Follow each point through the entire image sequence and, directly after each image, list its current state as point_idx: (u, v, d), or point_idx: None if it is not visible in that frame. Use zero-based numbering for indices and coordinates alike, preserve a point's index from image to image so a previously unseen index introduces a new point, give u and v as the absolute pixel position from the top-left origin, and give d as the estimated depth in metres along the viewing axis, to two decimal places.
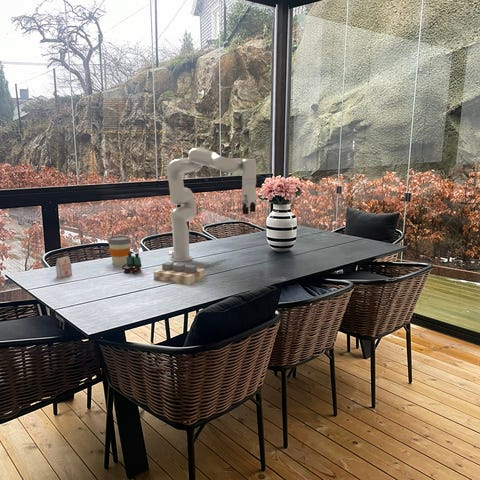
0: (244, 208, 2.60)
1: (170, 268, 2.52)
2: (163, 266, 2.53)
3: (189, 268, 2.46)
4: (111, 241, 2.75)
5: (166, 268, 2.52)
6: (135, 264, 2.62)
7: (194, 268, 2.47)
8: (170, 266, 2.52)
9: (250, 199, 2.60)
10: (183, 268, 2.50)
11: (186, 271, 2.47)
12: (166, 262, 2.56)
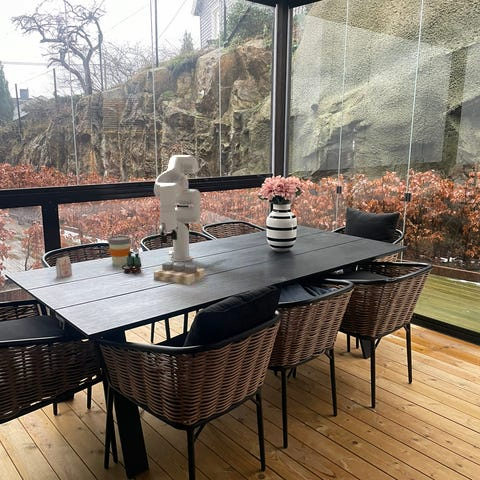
0: (162, 237, 2.46)
1: (170, 268, 2.52)
2: (163, 266, 2.53)
3: (189, 268, 2.46)
4: (111, 241, 2.75)
5: (166, 268, 2.52)
6: (135, 264, 2.62)
7: (194, 268, 2.47)
8: (170, 266, 2.52)
9: (168, 227, 2.46)
10: (183, 268, 2.50)
11: (186, 271, 2.47)
12: (166, 262, 2.56)
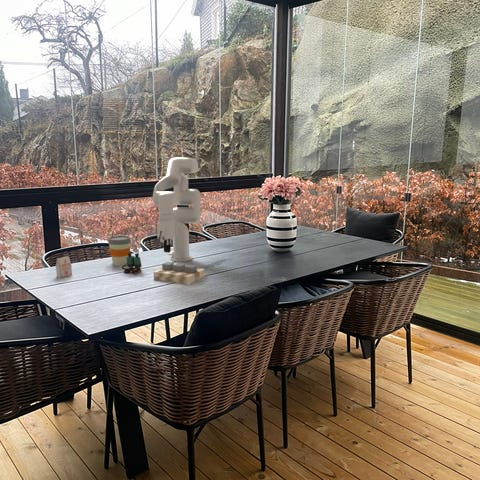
0: (165, 246, 2.50)
1: (170, 268, 2.52)
2: (163, 266, 2.53)
3: (189, 268, 2.46)
4: (111, 241, 2.75)
5: (166, 268, 2.52)
6: (135, 264, 2.62)
7: (194, 268, 2.47)
8: (170, 266, 2.52)
9: (166, 235, 2.46)
10: (183, 268, 2.50)
11: (186, 271, 2.47)
12: (166, 262, 2.56)
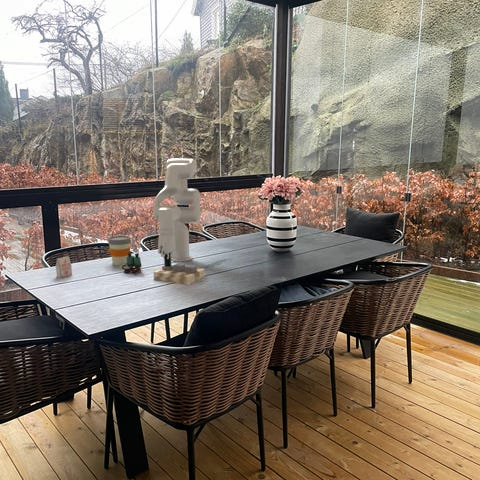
0: (165, 260, 2.52)
1: None
2: (163, 268, 2.53)
3: (189, 268, 2.46)
4: (111, 241, 2.75)
5: None
6: (135, 264, 2.62)
7: (194, 268, 2.47)
8: (170, 268, 2.52)
9: (167, 250, 2.48)
10: (183, 268, 2.50)
11: (186, 271, 2.47)
12: None
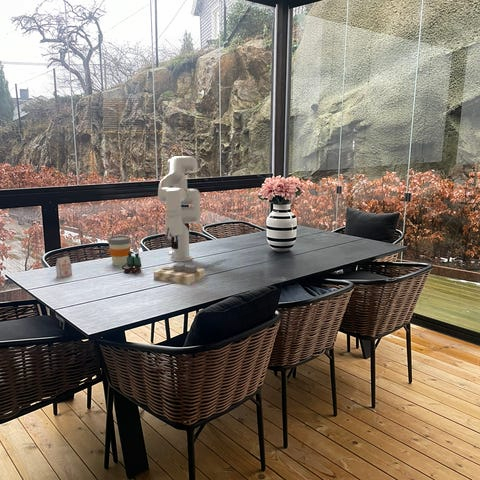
0: (172, 243, 2.48)
1: None
2: None
3: (189, 268, 2.46)
4: (111, 241, 2.75)
5: None
6: (135, 264, 2.62)
7: (194, 268, 2.47)
8: None
9: (174, 232, 2.44)
10: (183, 268, 2.50)
11: (186, 271, 2.47)
12: (166, 267, 2.56)
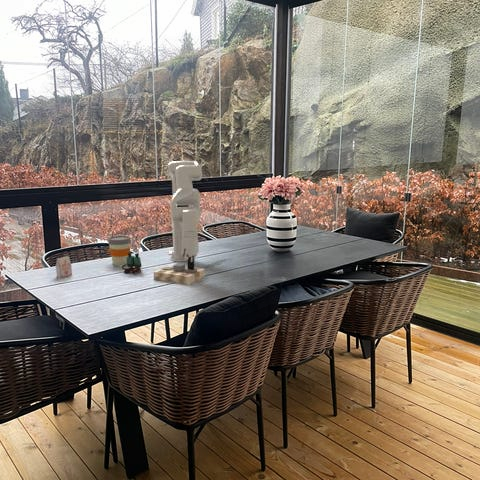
0: (189, 263, 2.46)
1: None
2: None
3: (189, 271, 2.46)
4: (111, 241, 2.75)
5: None
6: (135, 264, 2.62)
7: (194, 271, 2.47)
8: None
9: (191, 253, 2.42)
10: (183, 268, 2.50)
11: None
12: (166, 267, 2.56)
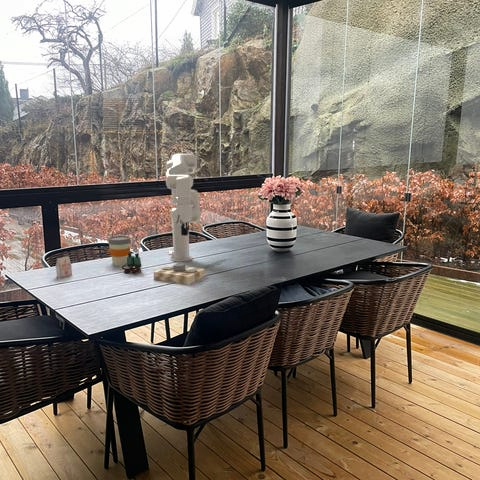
0: (182, 229, 2.53)
1: None
2: None
3: None
4: (111, 241, 2.75)
5: None
6: (135, 264, 2.62)
7: None
8: None
9: (184, 219, 2.49)
10: (183, 268, 2.50)
11: None
12: (166, 267, 2.56)
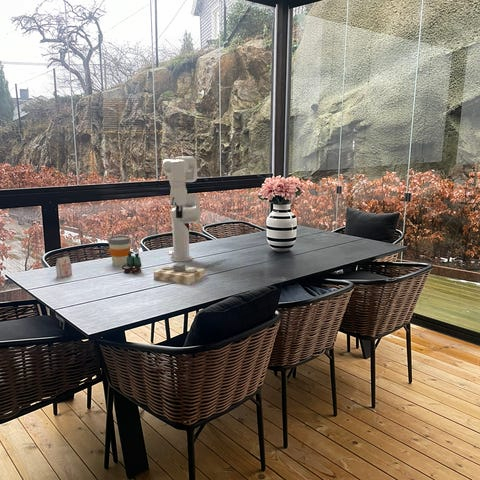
0: (177, 212, 2.60)
1: None
2: None
3: None
4: (111, 241, 2.75)
5: None
6: (135, 264, 2.62)
7: None
8: None
9: (179, 201, 2.56)
10: (183, 268, 2.50)
11: None
12: (166, 267, 2.56)
